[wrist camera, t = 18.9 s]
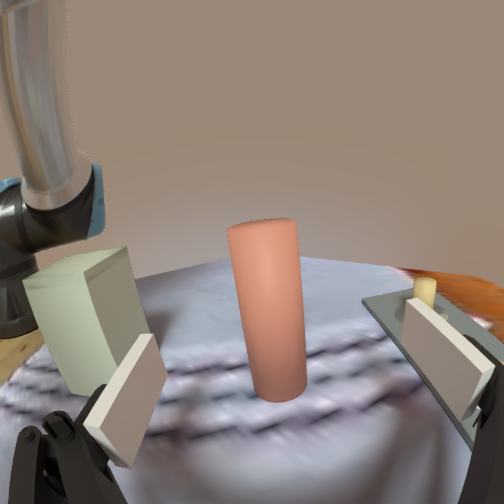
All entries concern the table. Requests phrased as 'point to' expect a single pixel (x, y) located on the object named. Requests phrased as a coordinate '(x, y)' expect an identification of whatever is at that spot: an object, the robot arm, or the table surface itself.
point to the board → (392, 318)
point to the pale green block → (87, 315)
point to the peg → (271, 305)
